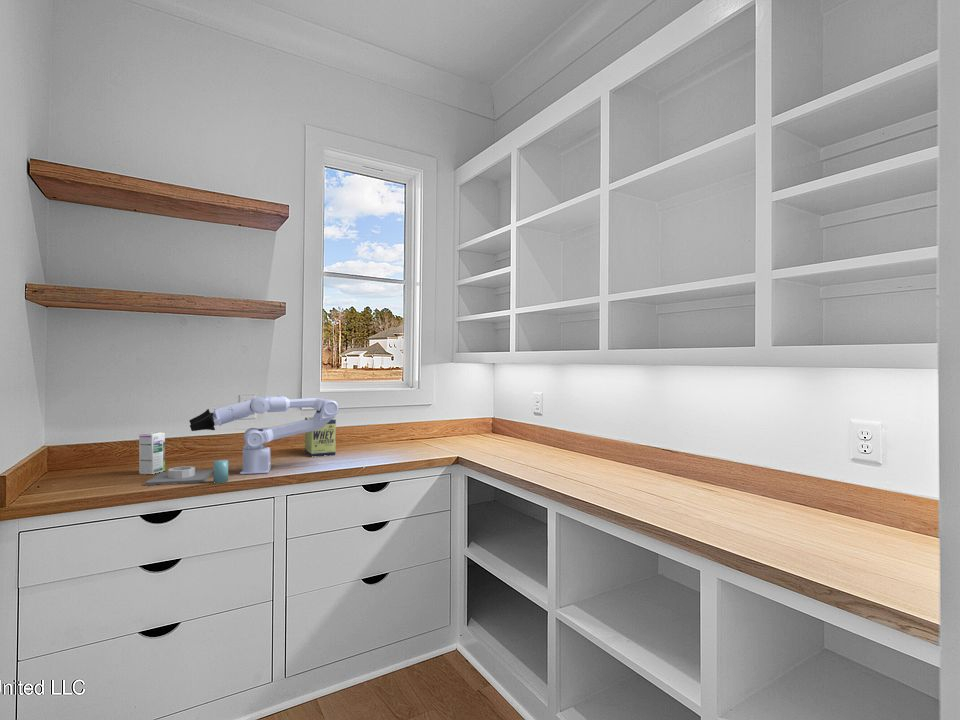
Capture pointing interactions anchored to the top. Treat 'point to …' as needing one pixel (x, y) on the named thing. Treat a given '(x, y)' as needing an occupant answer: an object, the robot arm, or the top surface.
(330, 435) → the protein box
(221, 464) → the teal rounded cylinder
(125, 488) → the top surface
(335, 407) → the robot arm
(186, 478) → the gray square plate
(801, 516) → the top surface
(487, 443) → the top surface
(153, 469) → the syrup box
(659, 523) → the top surface
